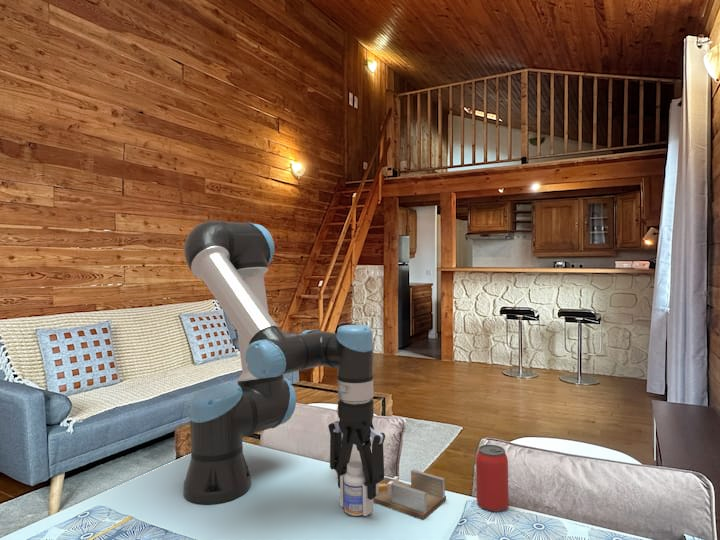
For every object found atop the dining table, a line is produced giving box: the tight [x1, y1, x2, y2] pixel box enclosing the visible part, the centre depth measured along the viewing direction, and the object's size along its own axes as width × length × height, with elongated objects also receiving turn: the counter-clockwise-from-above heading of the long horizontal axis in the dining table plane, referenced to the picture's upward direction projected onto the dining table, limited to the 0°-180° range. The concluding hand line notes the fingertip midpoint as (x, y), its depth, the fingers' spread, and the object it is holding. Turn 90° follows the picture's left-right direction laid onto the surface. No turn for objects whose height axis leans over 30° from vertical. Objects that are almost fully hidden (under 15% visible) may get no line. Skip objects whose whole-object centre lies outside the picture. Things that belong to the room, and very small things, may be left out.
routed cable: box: [376, 475, 400, 495], centre depth 108 cm, size 8×7×2 cm
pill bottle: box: [343, 461, 366, 517], centre depth 101 cm, size 5×5×10 cm
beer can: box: [475, 444, 510, 512], centre depth 102 cm, size 7×7×12 cm
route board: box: [373, 476, 447, 521], centre depth 106 cm, size 16×10×1 cm, turn 53°
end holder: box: [391, 469, 446, 514], centre depth 103 cm, size 8×9×4 cm
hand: (356, 508), depth 101 cm, fingers closed on pill bottle, 5 cm apart
